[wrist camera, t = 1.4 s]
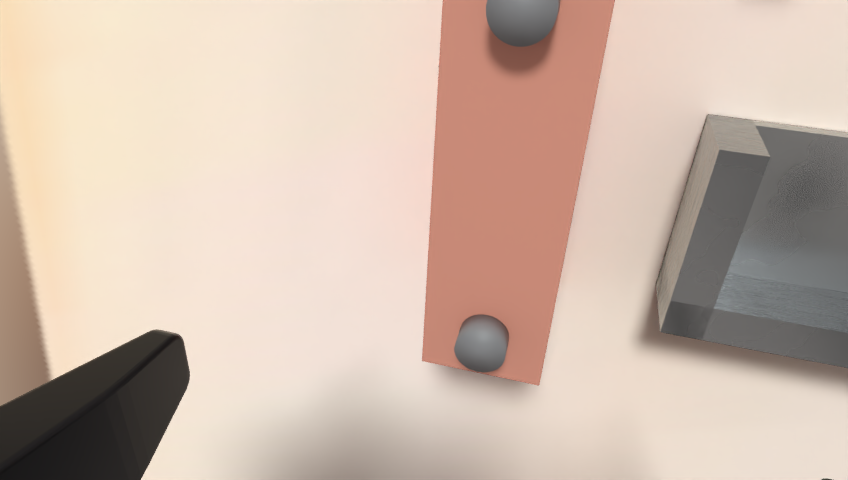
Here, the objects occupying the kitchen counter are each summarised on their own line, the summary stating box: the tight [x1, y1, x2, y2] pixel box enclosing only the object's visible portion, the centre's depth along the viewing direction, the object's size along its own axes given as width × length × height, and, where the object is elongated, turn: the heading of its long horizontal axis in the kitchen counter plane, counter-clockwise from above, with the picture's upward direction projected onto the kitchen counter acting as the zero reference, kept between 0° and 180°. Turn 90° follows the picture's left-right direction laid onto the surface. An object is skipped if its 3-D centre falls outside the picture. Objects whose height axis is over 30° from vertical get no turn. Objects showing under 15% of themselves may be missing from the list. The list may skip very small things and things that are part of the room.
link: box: [422, 0, 615, 385], centre depth 17 cm, size 12×4×6 cm, turn 177°
